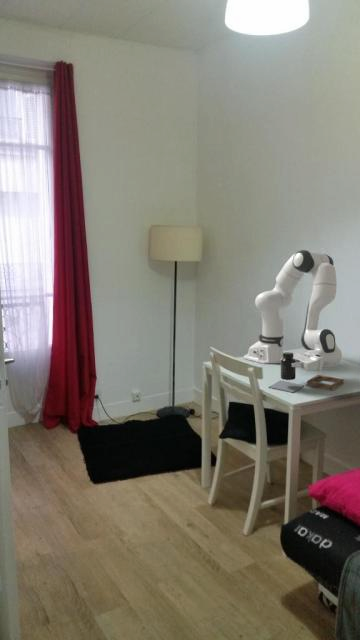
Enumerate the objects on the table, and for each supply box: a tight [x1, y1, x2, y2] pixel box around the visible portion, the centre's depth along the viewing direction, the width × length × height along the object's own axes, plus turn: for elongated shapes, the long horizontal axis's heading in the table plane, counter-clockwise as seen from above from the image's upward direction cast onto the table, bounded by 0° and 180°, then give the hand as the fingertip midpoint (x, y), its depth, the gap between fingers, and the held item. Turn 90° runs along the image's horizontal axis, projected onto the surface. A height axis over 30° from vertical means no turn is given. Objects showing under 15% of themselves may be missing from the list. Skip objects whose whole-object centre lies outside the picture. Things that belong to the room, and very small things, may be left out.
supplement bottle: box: [280, 351, 297, 381], centre depth 246 cm, size 7×7×12 cm
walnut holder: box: [306, 374, 345, 391], centre depth 253 cm, size 13×13×2 cm
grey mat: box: [268, 379, 305, 394], centre depth 249 cm, size 12×12×1 cm
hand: (286, 362), depth 246 cm, fingers closed on supplement bottle, 6 cm apart
